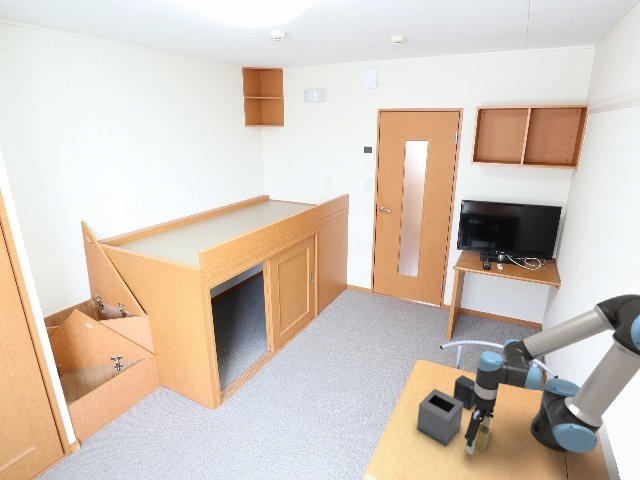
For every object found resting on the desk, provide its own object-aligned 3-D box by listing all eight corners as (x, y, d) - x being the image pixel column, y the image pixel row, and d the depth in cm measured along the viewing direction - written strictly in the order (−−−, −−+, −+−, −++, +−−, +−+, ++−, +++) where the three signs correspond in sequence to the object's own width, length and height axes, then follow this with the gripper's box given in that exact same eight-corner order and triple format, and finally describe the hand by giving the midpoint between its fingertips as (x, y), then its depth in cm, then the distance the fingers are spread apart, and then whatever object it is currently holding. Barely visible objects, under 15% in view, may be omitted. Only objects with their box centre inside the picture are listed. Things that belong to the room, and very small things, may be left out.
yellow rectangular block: (487, 446, 142) (490, 428, 140) (483, 451, 140) (486, 434, 137) (471, 437, 146) (473, 420, 144) (467, 442, 144) (469, 425, 141)
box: (476, 404, 163) (479, 383, 160) (469, 410, 159) (472, 389, 156) (459, 394, 169) (462, 374, 165) (452, 400, 165) (455, 379, 162)
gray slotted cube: (460, 428, 150) (463, 403, 147) (445, 446, 142) (449, 420, 139) (432, 412, 158) (434, 388, 155) (416, 429, 150) (419, 403, 146)
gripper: (488, 372, 147) (480, 417, 154) (459, 406, 130) (452, 455, 137) (508, 381, 142) (499, 427, 149) (481, 417, 125) (472, 467, 132)
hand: (476, 440), depth 143 cm, fingers open, 13 cm apart
